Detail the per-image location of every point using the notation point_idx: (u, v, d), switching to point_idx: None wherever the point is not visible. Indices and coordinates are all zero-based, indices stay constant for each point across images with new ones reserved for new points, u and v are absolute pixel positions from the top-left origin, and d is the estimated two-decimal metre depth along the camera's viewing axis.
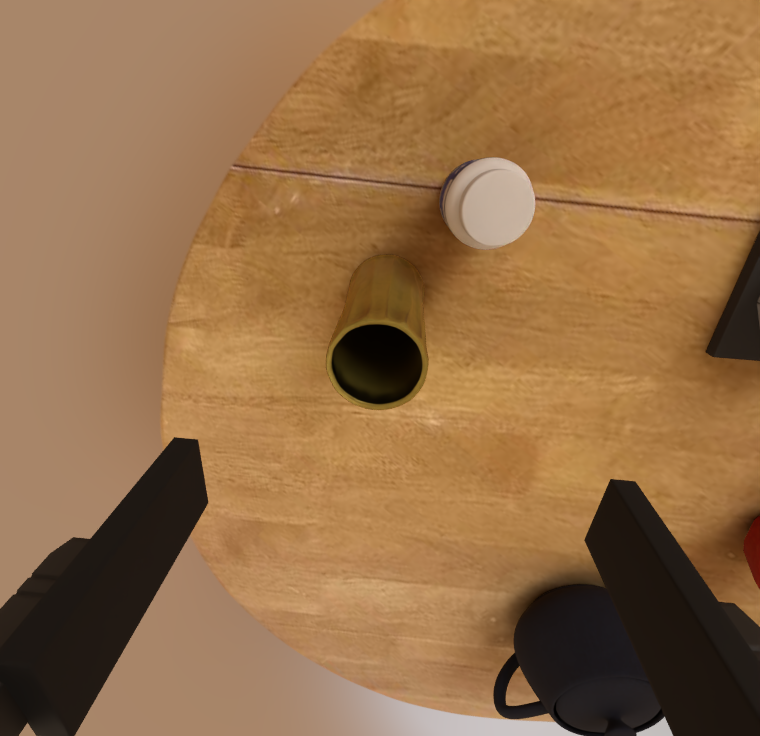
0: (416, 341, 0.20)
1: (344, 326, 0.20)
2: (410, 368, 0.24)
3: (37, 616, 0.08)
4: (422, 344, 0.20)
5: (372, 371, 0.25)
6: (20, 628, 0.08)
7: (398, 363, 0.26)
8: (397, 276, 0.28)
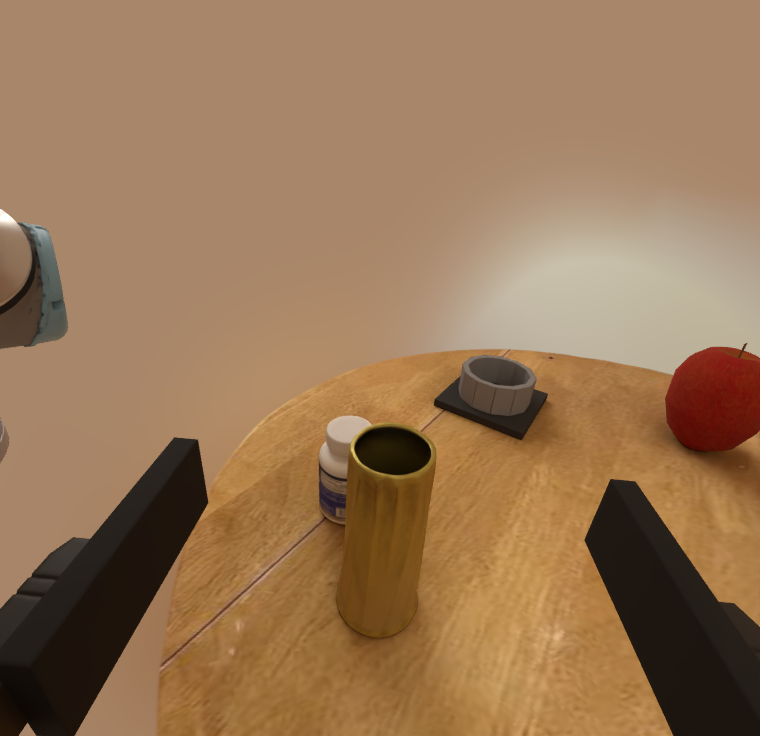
0: (388, 423, 0.27)
1: (349, 451, 0.24)
2: None
3: (37, 616, 0.08)
4: None
5: None
6: (20, 628, 0.08)
7: None
8: None
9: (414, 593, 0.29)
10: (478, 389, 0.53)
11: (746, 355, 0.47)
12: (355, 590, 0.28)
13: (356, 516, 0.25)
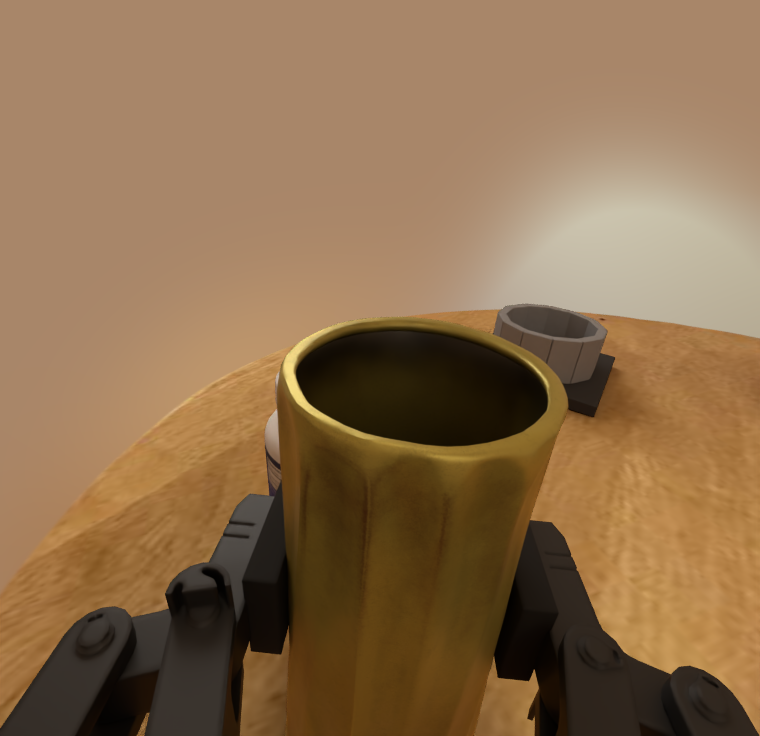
0: (401, 318, 0.10)
1: None
2: None
3: (262, 548, 0.10)
4: None
5: None
6: (253, 556, 0.09)
7: None
8: None
9: None
10: (524, 344, 0.36)
11: None
12: None
13: (307, 585, 0.08)
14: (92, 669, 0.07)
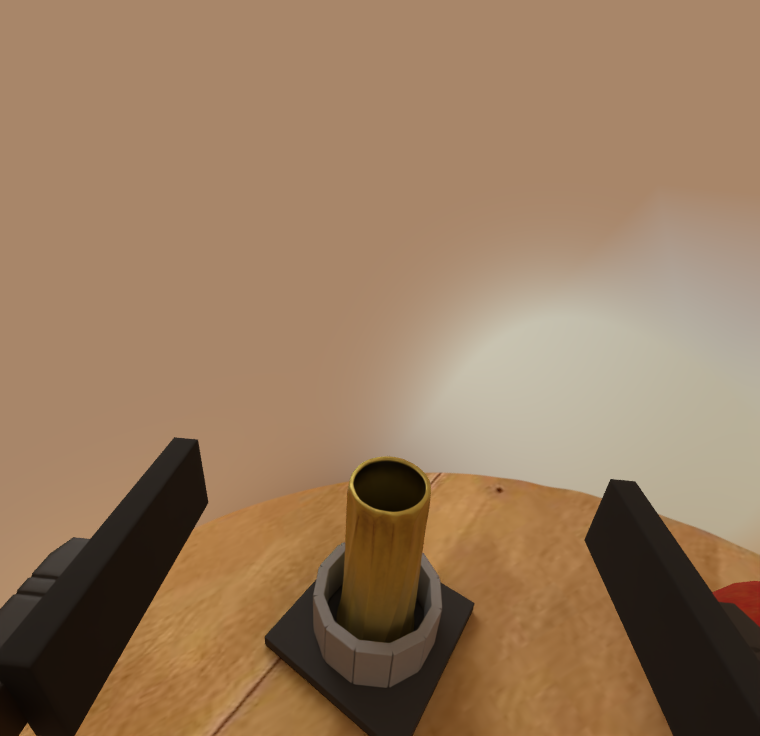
0: (385, 457, 0.28)
1: (348, 487, 0.26)
2: None
3: (37, 616, 0.08)
4: None
5: None
6: (20, 628, 0.08)
7: None
8: None
9: (411, 617, 0.30)
10: (329, 641, 0.28)
11: None
12: (354, 615, 0.29)
13: (355, 547, 0.26)
14: None
